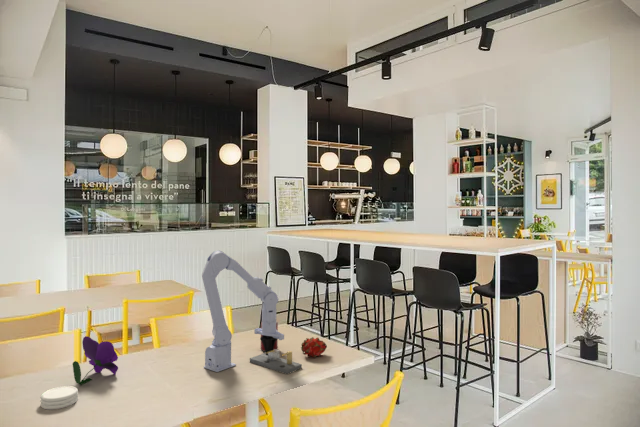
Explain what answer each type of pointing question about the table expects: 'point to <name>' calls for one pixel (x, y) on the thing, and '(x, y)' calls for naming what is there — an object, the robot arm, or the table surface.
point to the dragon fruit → (313, 347)
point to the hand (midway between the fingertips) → (268, 354)
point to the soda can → (275, 342)
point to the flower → (96, 358)
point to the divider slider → (273, 354)
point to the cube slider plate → (277, 363)
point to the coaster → (59, 397)
